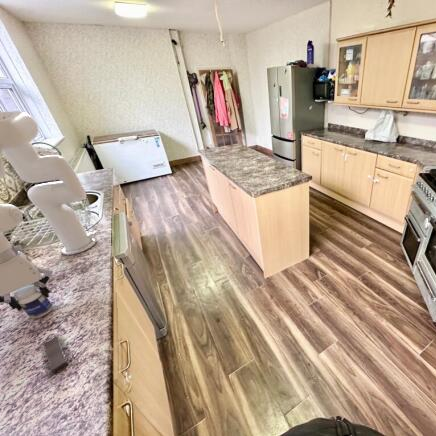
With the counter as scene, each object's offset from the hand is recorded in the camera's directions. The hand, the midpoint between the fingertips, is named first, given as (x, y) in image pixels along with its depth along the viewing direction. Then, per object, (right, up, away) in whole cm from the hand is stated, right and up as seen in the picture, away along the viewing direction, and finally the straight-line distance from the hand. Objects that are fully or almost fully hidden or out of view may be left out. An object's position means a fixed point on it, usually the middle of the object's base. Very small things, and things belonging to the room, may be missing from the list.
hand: (33, 301), depth 75 cm
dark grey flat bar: (+18, -11, -11) cm, 24 cm away
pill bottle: (0, -5, +2) cm, 5 cm away
